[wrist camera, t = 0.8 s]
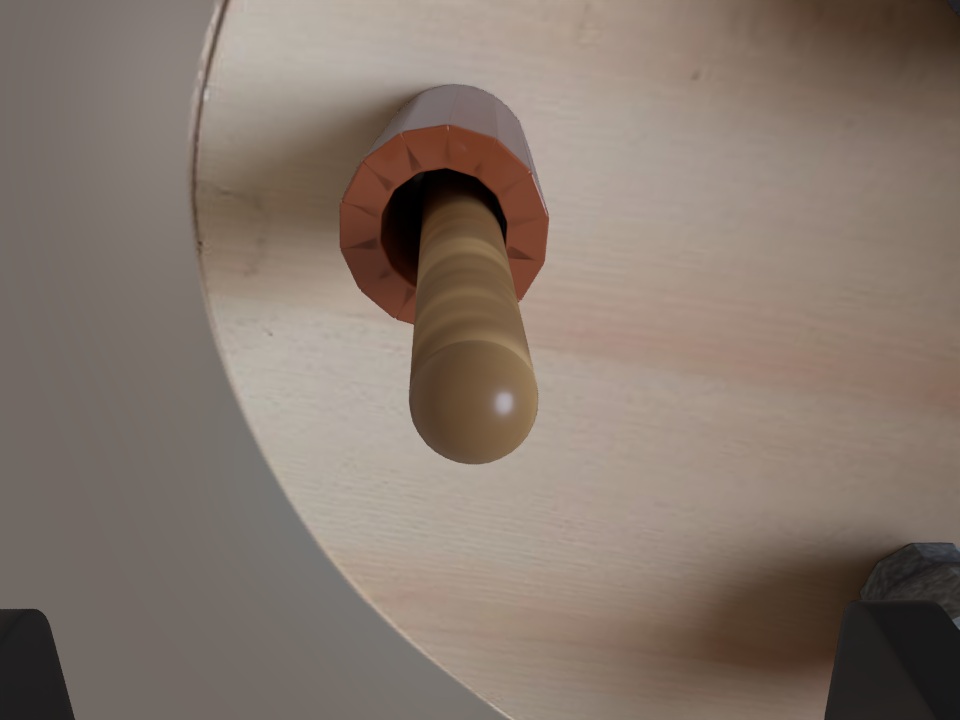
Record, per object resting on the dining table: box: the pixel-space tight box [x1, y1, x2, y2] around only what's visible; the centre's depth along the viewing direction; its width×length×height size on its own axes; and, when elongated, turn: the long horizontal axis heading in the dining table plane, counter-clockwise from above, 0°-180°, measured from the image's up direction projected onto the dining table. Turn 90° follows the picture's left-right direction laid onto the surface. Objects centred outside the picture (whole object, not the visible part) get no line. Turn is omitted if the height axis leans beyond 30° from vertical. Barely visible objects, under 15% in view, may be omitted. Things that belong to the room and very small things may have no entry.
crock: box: [340, 84, 549, 324], centre depth 31 cm, size 6×6×12 cm
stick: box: [409, 168, 538, 464], centre depth 25 cm, size 2×2×22 cm
